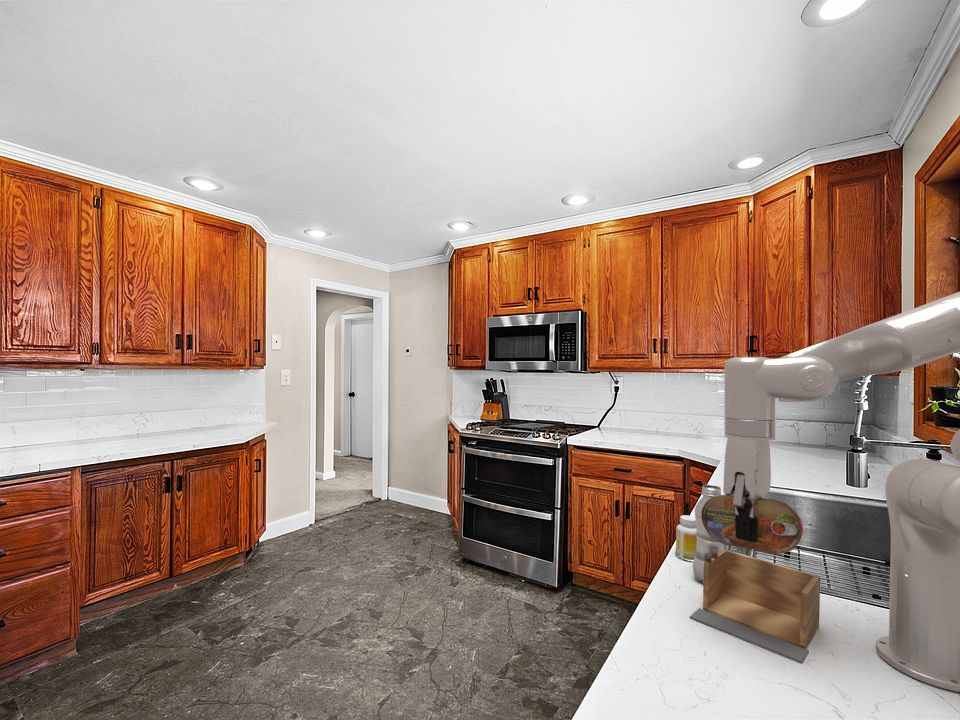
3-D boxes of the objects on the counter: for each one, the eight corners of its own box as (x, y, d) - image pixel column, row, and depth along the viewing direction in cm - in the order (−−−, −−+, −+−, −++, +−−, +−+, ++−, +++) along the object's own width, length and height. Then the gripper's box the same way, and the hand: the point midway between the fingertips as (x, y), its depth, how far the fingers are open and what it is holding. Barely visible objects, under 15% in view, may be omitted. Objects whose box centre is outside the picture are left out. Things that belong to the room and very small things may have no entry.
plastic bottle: (686, 580, 99) (689, 486, 100) (700, 571, 104) (702, 481, 104) (718, 591, 95) (721, 492, 95) (731, 582, 99) (733, 487, 99)
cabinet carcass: (819, 627, 82) (820, 568, 82) (805, 650, 75) (806, 585, 75) (721, 593, 94) (722, 541, 94) (701, 610, 87) (703, 554, 87)
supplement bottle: (671, 555, 112) (672, 515, 112) (684, 551, 115) (685, 512, 115) (691, 564, 108) (692, 522, 108) (705, 559, 111) (706, 519, 111)
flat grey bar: (808, 652, 75) (808, 650, 75) (802, 663, 72) (802, 661, 72) (699, 609, 87) (699, 608, 87) (689, 618, 84) (689, 616, 84)
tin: (702, 540, 83) (698, 493, 84) (709, 535, 86) (704, 489, 86) (803, 559, 73) (797, 505, 73) (807, 553, 75) (801, 500, 75)
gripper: (740, 423, 88) (740, 522, 87) (708, 430, 77) (708, 543, 76) (787, 427, 82) (787, 532, 82) (759, 435, 71) (760, 557, 71)
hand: (749, 536), depth 79 cm, fingers closed on tin, 2 cm apart
